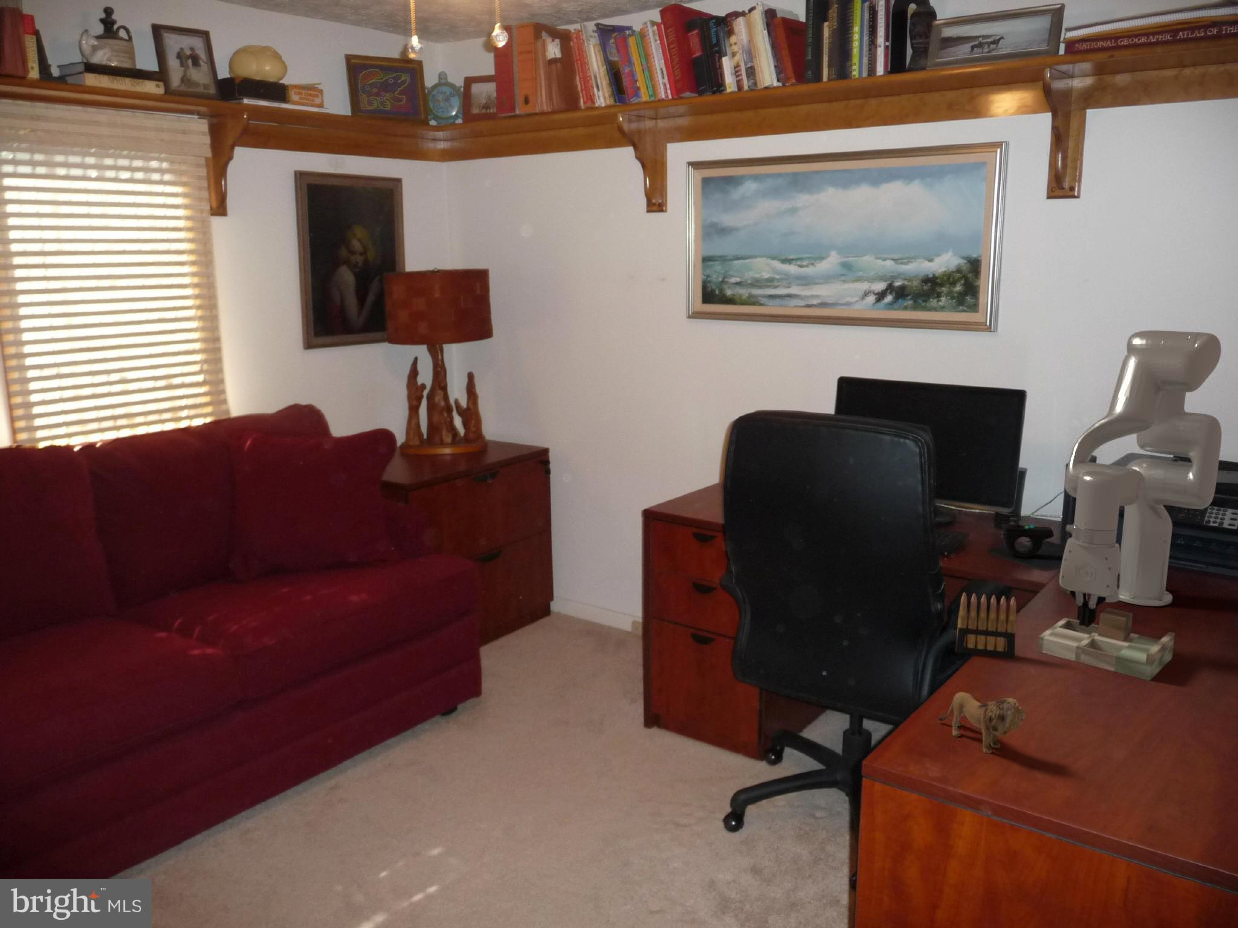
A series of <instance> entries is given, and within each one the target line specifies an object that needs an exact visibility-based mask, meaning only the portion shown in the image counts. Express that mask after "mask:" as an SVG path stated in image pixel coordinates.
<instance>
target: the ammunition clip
mask: <svg viewBox="0 0 1238 928" xmlns="http://www.w3.org/2000/svg"><path fill="white" fill-rule="evenodd" d="M967 597H968V596H967V594H966V592H963V593H962V596H961V600H960V606H959V612H958V616H957V617H958V620H957V631H956V639H955V640H956V642H955V648H954V650H955V653H958V654H959V653H961V654H969V655H978V656H986V657H987V656H988V657H994V658H995V657H996V658H997V657H998V658H1005V659H1015V657H1016V656H1015V654H1016V630H1017V603H1016V598H1015V596H1013V597H1012V598H1011V601H1010V604H1009V609H1008V616H1007V599H1006V596H1005V595H1002V598H1001V599H1000V602H999V610H998V613H997V598H996V595H995V594H993V595H992V596H991V600H990V604H989V610H988V602H987V596H986V594H985V593H984V594H983V595H982V597H981V600H980V605H979V611H978V608H977V607H978V600H977V599H978V598H977V595H976V593H973V594H972V597H971V600H970V602H969V603H970V605H969V611H968V598H967ZM987 610H988V611H989V612H987ZM997 614H998V616H997Z"/></svg>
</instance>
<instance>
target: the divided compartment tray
mask: <svg viewBox="0 0 1238 928" xmlns="http://www.w3.org/2000/svg"><path fill="white" fill-rule="evenodd" d="M1098 631H1099V624H1094V623H1093V624H1092V625H1090V626H1089V627H1085V626H1084V625H1083V626H1080V625H1079V620H1078V619H1077V620H1075V619H1073V618H1072V619H1071V618H1067V617H1063V618H1062V619H1060V620H1059V621H1057V623H1055V624H1054V625H1052V626H1051V627H1050V628H1048V629H1047V630H1045V631H1044V632H1043V633H1041V634H1040V635H1038V639H1037V648H1036V649H1037V650H1036V651H1037V652H1039V653H1044V654H1046V653H1047V654H1046V655H1050V656H1055V657H1058V658H1061V659H1066V660H1070V661H1073V662H1077V663H1081V664H1085V665H1088V666H1092V667H1097V668H1100V669H1104V670H1106V671H1107V670H1108V671H1111V672H1116V673H1119V674H1123V675H1126V676H1131V677H1135V678H1138V679H1142V680H1146V681H1148V682H1149V681H1151V680H1152V679H1153V678H1154V677H1155V676H1156V675H1157V674H1158V673H1159V672H1160V671H1161V670H1162V669H1163V668H1164V667H1165V666H1166V665H1167V664H1168V663H1169V662H1170V661H1171V660H1172V659H1173V654H1174V653H1173V652H1174V644H1175V637H1176V636H1175V635H1176V633H1175V632H1171V631H1169V632H1167V633H1166V634H1165V635H1164V636H1163V637H1162V638H1161V639H1157V638H1153V637H1148V636H1146V635H1145V636H1144V635H1140V634H1135V633H1131V634H1130V636H1129V637H1128V638H1127V639H1126V640H1124V641H1123V642H1122V641H1118V640H1113V639H1109V638H1105V637H1101V636H1098Z"/></svg>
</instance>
